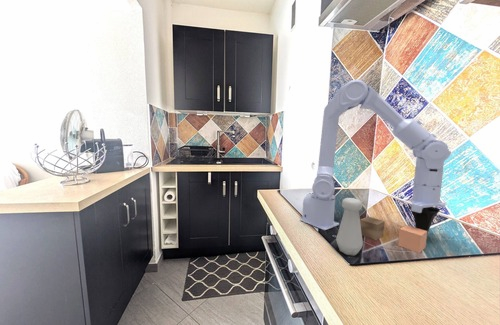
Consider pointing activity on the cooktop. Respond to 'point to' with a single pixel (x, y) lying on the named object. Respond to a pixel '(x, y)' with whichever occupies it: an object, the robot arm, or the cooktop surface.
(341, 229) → the salt shaker
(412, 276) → the cooktop surface
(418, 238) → the terracotta block
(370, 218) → the walnut block
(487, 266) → the cooktop surface
